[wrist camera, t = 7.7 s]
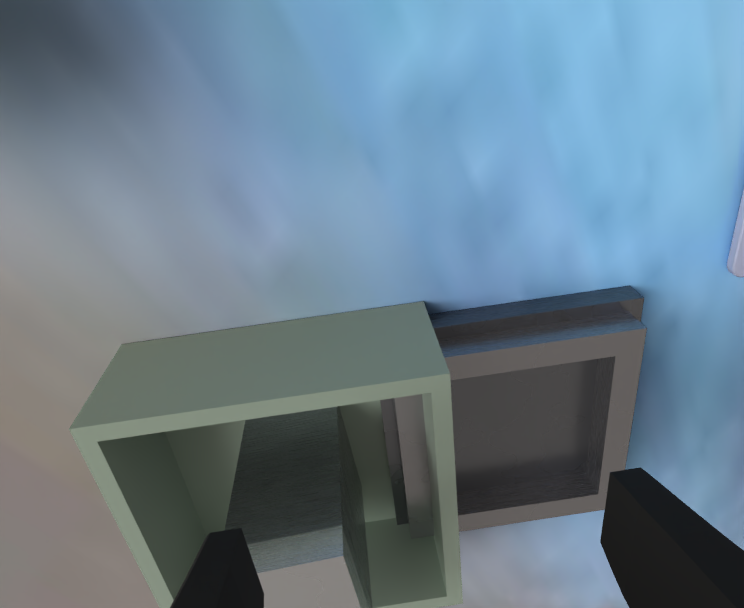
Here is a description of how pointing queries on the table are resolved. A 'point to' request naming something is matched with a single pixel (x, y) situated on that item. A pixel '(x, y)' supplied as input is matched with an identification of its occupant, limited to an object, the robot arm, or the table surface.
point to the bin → (263, 399)
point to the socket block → (525, 409)
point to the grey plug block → (302, 511)
